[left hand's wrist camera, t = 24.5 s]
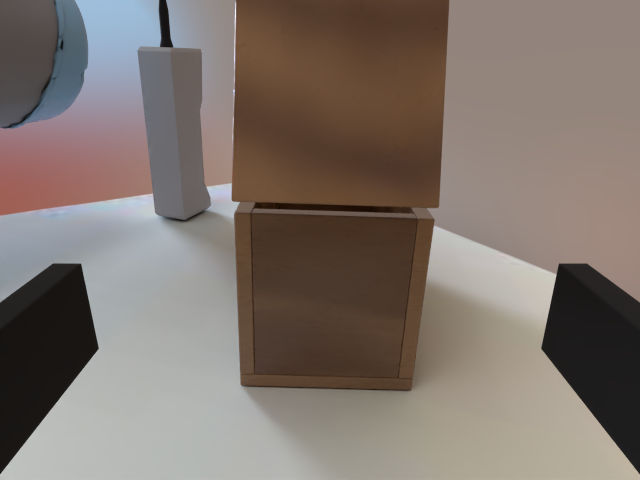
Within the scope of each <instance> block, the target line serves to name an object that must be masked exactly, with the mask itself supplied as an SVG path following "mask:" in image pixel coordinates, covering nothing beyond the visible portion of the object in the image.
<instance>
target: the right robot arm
mask: <svg viewBox="0 0 640 480" xmlns="http://www.w3.org/2000/svg"><path fill="white" fill-rule="evenodd" d="M87 65H88V41H87V34H86V29H85V25H84V21H83V18H82V15H81V13H80V10H79V8H78V6H77V4H76V2H75V0H0V128H4V129H5V128H18V127H20V126H22V125H24V124H26V123H31V122H37V121H42V120H47V119H51V118H53V117H56V116H58V115H60V114H61V113H63V112H64V111H65V110H67V109H68V108H69V107H70V106H71V105H72V103H73V102H74V101H75V99H76V98H77V96H78V94H79V93H80V91H81V88H82V85H83V82H84V71H85V69H86V68H87Z"/></svg>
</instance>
